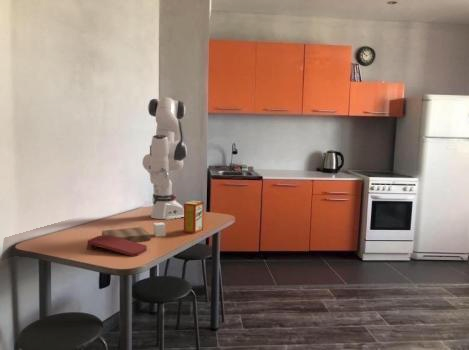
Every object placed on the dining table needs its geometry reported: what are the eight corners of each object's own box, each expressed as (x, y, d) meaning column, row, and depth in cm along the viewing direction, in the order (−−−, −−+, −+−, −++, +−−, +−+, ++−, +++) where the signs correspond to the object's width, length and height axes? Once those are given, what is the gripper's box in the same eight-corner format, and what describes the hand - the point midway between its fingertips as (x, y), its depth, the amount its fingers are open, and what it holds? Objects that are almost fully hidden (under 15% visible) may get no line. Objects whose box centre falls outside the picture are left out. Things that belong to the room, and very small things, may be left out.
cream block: (162, 233, 212) (162, 222, 211) (165, 235, 208) (165, 224, 207) (153, 234, 210) (153, 223, 209) (156, 236, 205) (156, 225, 205)
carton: (147, 256, 184) (100, 242, 191) (149, 246, 184) (101, 232, 190) (133, 264, 173) (83, 249, 179) (135, 253, 172) (85, 239, 178)
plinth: (141, 232, 212) (141, 227, 212) (150, 240, 198) (150, 234, 198) (102, 236, 203) (101, 230, 203) (108, 244, 189) (108, 238, 189)
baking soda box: (194, 233, 213) (195, 203, 212) (183, 232, 216) (184, 202, 214) (202, 229, 222) (203, 200, 220) (192, 228, 225) (192, 199, 223)
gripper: (172, 169, 197) (172, 197, 199) (159, 165, 215) (159, 191, 217) (160, 169, 194) (159, 198, 196) (147, 165, 212) (147, 191, 214)
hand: (159, 194), depth 206 cm, fingers open, 8 cm apart
